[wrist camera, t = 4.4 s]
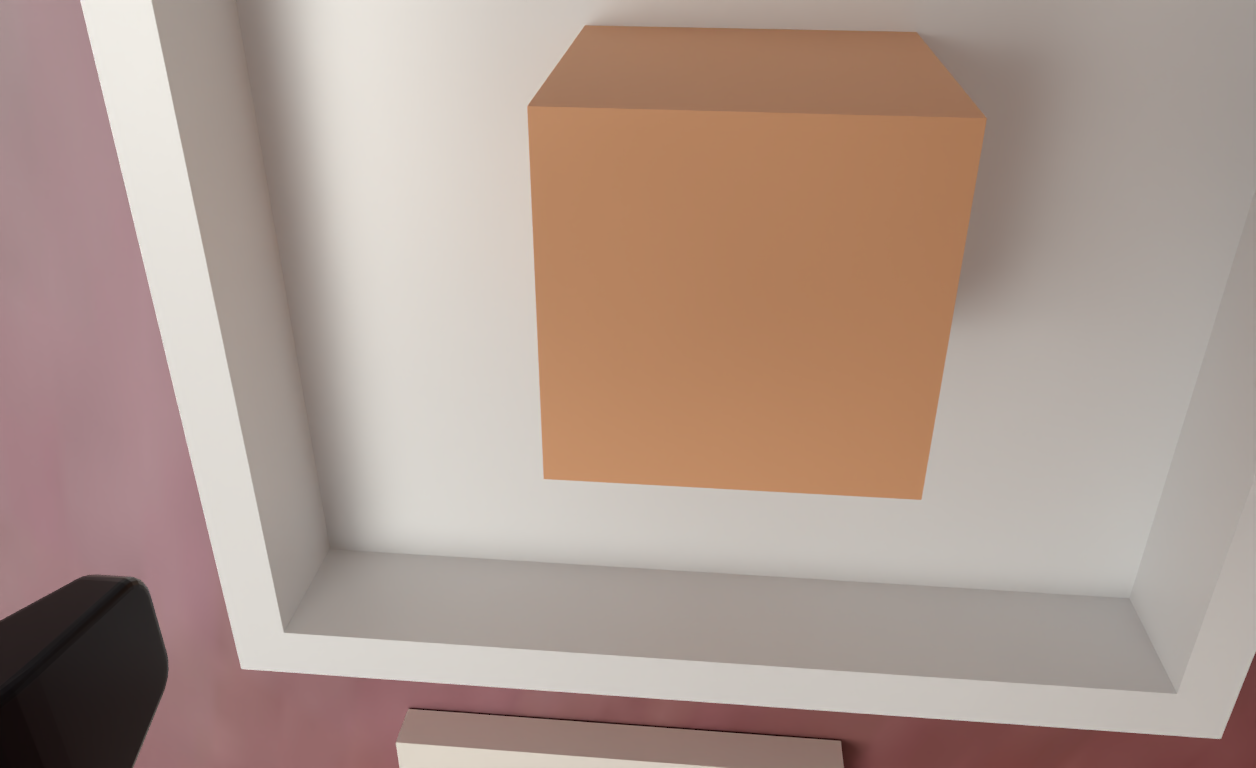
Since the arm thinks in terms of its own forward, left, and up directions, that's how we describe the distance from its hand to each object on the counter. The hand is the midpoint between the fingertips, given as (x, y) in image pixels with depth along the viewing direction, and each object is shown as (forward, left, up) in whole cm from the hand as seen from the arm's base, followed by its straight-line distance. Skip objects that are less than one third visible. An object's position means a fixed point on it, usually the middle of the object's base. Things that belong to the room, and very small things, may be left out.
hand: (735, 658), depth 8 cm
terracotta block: (0, 0, -11) cm, 11 cm away
